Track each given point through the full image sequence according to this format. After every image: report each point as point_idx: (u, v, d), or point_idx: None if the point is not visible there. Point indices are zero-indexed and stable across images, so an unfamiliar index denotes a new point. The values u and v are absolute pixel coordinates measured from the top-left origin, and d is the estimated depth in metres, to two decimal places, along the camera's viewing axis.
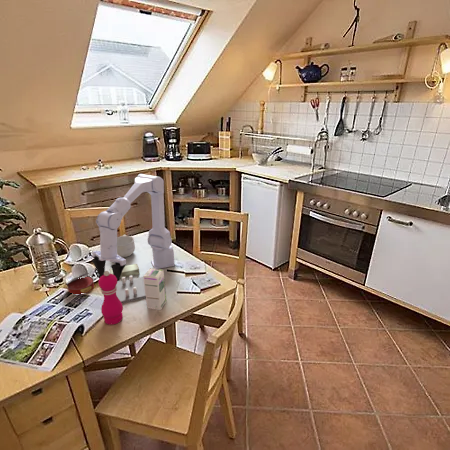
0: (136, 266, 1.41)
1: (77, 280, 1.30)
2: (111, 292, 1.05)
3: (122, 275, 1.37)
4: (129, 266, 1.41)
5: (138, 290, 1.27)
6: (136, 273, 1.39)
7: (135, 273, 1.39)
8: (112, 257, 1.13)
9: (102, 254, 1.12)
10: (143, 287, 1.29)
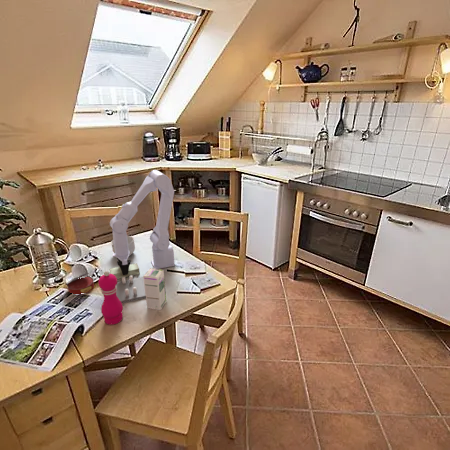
0: (136, 266, 1.41)
1: (77, 280, 1.30)
2: (111, 292, 1.05)
3: (122, 275, 1.37)
4: (129, 266, 1.41)
5: (138, 290, 1.27)
6: (136, 273, 1.39)
7: (135, 273, 1.39)
8: (120, 255, 1.33)
9: (115, 251, 1.34)
10: (143, 287, 1.29)
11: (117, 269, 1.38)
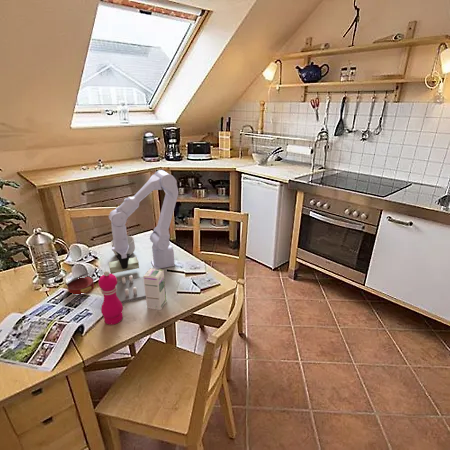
0: (136, 259, 1.39)
1: (77, 280, 1.30)
2: (111, 292, 1.05)
3: (121, 268, 1.35)
4: None
5: (138, 290, 1.27)
6: (135, 266, 1.38)
7: (134, 266, 1.38)
8: (119, 249, 1.31)
9: (114, 245, 1.33)
10: (143, 287, 1.29)
11: (117, 263, 1.36)
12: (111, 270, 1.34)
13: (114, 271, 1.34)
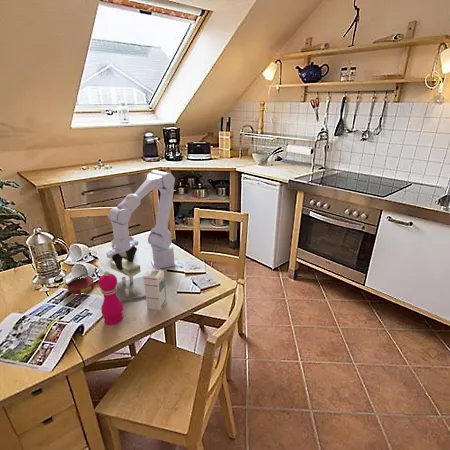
0: (134, 267, 1.26)
1: (77, 280, 1.30)
2: (111, 292, 1.05)
3: None
4: (131, 264, 1.29)
5: (138, 290, 1.27)
6: (128, 274, 1.25)
7: (128, 273, 1.26)
8: (115, 248, 1.24)
9: None
10: (143, 287, 1.29)
11: None
12: (111, 265, 1.30)
13: (113, 267, 1.30)
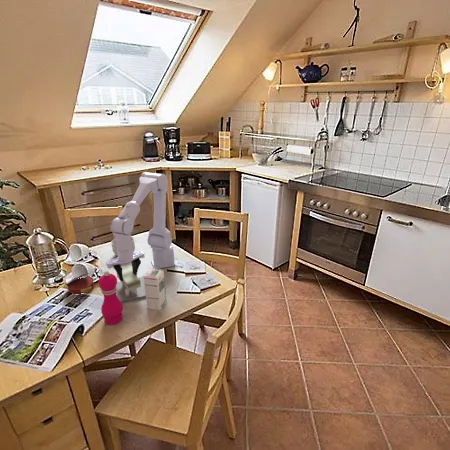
0: (133, 281, 1.21)
1: (77, 280, 1.30)
2: (111, 292, 1.05)
3: None
4: (133, 276, 1.24)
5: (138, 290, 1.27)
6: (126, 287, 1.21)
7: (126, 286, 1.21)
8: (117, 258, 1.21)
9: None
10: (143, 287, 1.29)
11: (125, 272, 1.27)
12: (117, 274, 1.28)
13: (118, 276, 1.27)
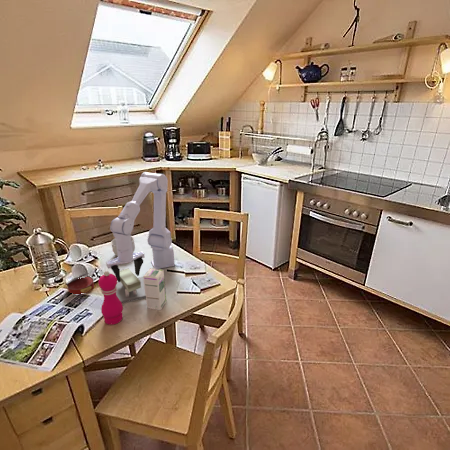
0: (134, 282, 1.21)
1: (77, 280, 1.30)
2: (111, 292, 1.05)
3: (121, 280, 1.25)
4: (133, 278, 1.24)
5: (138, 290, 1.27)
6: (127, 288, 1.21)
7: (126, 287, 1.21)
8: (117, 258, 1.21)
9: None
10: (143, 287, 1.29)
11: (125, 273, 1.27)
12: None
13: None
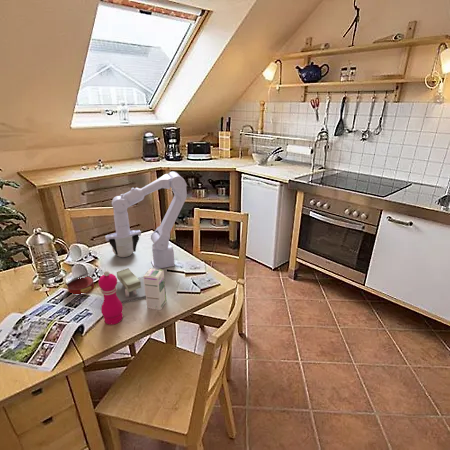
0: (134, 282, 1.21)
1: (77, 280, 1.30)
2: (111, 292, 1.05)
3: (121, 280, 1.25)
4: (133, 278, 1.24)
5: (138, 290, 1.27)
6: (127, 288, 1.21)
7: (126, 287, 1.21)
8: (116, 233, 1.34)
9: None
10: (143, 287, 1.29)
11: (125, 273, 1.27)
12: (117, 275, 1.28)
13: (118, 278, 1.28)
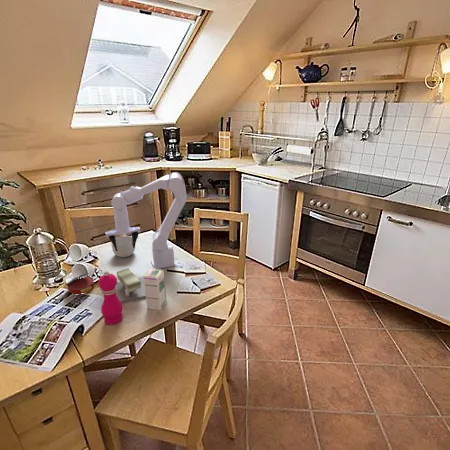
0: (134, 282, 1.21)
1: (77, 280, 1.30)
2: (111, 292, 1.05)
3: (121, 280, 1.25)
4: (133, 278, 1.24)
5: (138, 290, 1.27)
6: (127, 288, 1.21)
7: (126, 287, 1.21)
8: (116, 229, 1.38)
9: None
10: (143, 287, 1.29)
11: (125, 273, 1.27)
12: (117, 275, 1.28)
13: (118, 278, 1.28)
